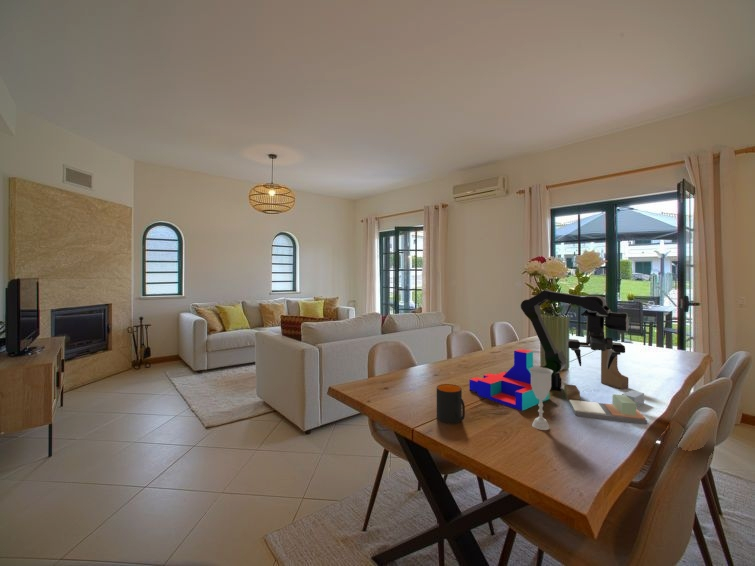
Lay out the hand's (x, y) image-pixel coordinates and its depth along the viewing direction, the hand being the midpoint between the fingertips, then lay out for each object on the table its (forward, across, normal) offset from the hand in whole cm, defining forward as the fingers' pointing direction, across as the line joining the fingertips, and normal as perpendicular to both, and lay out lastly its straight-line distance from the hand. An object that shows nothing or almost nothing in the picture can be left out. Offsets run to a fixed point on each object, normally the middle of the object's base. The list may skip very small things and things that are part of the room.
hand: (593, 367), depth 131 cm
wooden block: (+12, +11, +19) cm, 25 cm away
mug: (+13, -47, -42) cm, 65 cm away
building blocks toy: (+13, -32, -11) cm, 36 cm away
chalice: (+12, -20, -36) cm, 43 cm away
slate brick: (+12, +12, -3) cm, 17 cm away
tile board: (+12, +1, -17) cm, 20 cm away
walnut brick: (+12, -8, -4) cm, 15 cm away
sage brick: (+10, +6, -16) cm, 20 cm away
